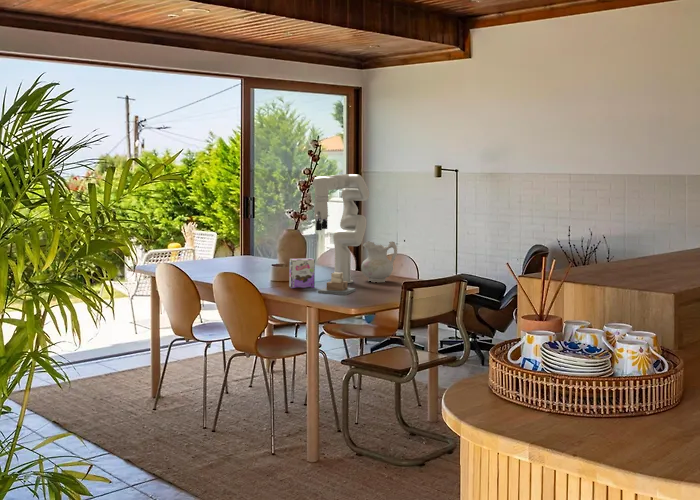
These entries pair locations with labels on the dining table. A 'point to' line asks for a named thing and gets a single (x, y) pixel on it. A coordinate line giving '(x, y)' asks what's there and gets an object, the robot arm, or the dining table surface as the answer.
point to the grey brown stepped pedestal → (337, 288)
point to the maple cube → (336, 277)
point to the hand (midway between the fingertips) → (321, 229)
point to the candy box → (302, 273)
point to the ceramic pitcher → (378, 262)
